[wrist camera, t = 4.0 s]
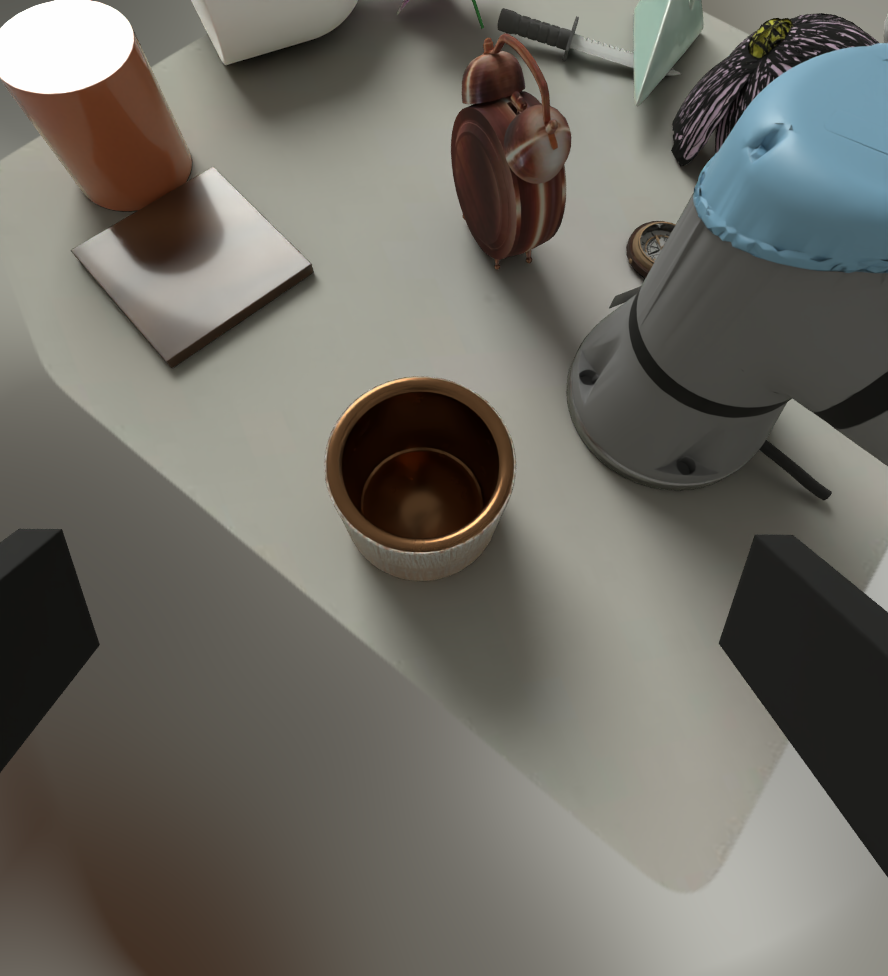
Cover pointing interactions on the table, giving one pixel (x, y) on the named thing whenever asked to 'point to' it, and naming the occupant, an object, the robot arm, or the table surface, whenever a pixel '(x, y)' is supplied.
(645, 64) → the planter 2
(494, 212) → the alarm clock
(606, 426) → the robot arm
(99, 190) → the copper solid cylinder
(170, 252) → the brown wooden square plate
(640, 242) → the compass
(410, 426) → the planter
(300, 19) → the bottle
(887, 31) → the soap bottle
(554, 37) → the knife
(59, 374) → the table surface
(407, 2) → the lily
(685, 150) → the decorative flower
